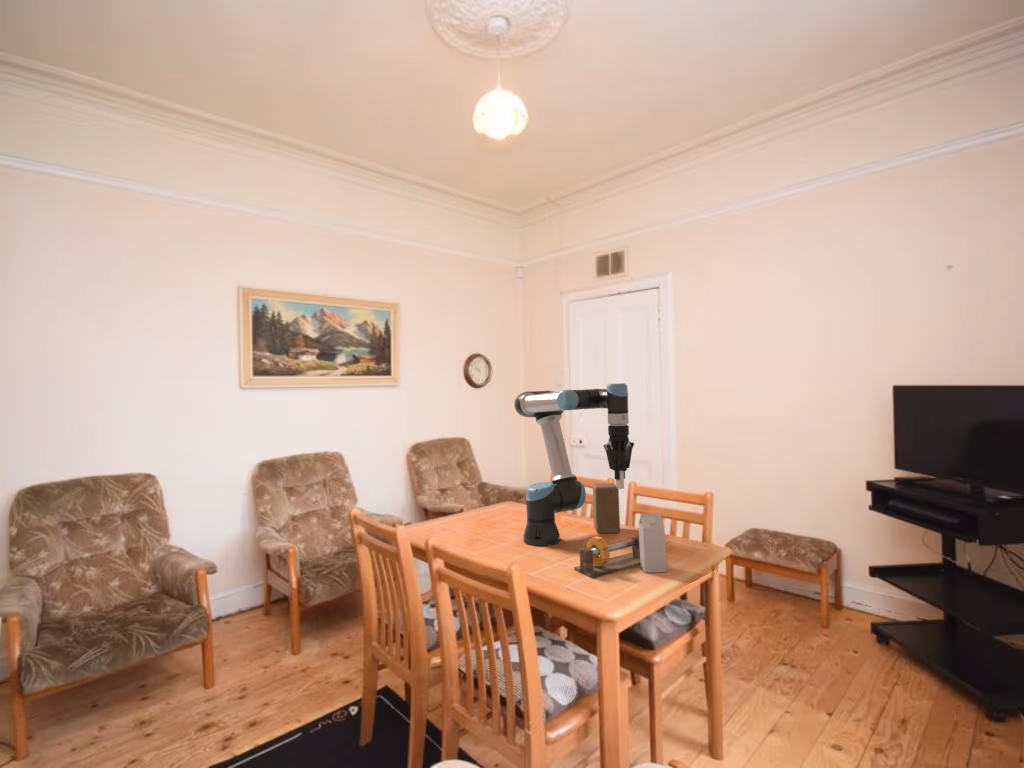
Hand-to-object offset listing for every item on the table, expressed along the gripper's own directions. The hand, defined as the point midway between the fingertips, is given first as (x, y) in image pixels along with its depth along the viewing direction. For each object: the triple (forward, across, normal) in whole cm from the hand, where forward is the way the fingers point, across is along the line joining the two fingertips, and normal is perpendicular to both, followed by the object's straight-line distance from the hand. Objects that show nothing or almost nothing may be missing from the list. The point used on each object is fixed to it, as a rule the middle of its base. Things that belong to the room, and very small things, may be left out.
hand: (620, 488), depth 191 cm
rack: (+25, -10, -7) cm, 28 cm away
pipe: (+20, -10, -7) cm, 23 cm away
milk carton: (+25, -1, -17) cm, 30 cm away
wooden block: (+26, +17, +30) cm, 43 cm away
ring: (+23, -17, -7) cm, 29 cm away
